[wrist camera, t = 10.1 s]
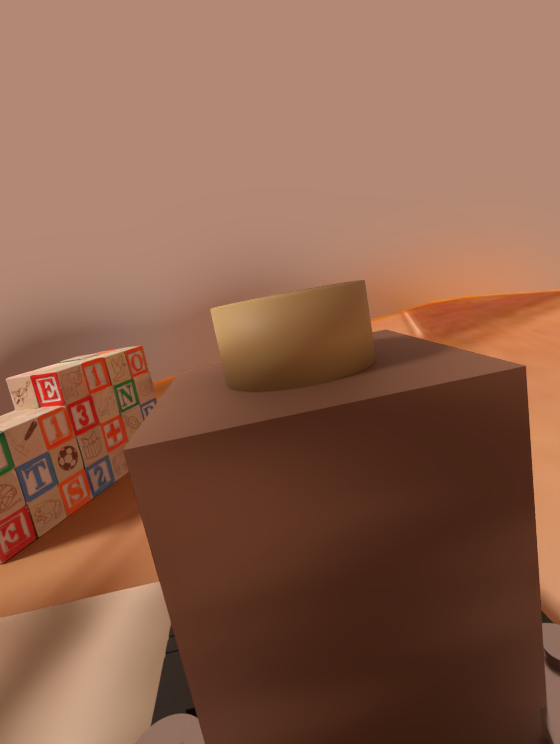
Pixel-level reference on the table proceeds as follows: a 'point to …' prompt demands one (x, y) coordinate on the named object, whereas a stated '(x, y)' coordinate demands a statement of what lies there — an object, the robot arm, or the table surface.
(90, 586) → the table surface
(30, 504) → the stack of blocks
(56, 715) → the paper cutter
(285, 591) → the brown pillar with knob
